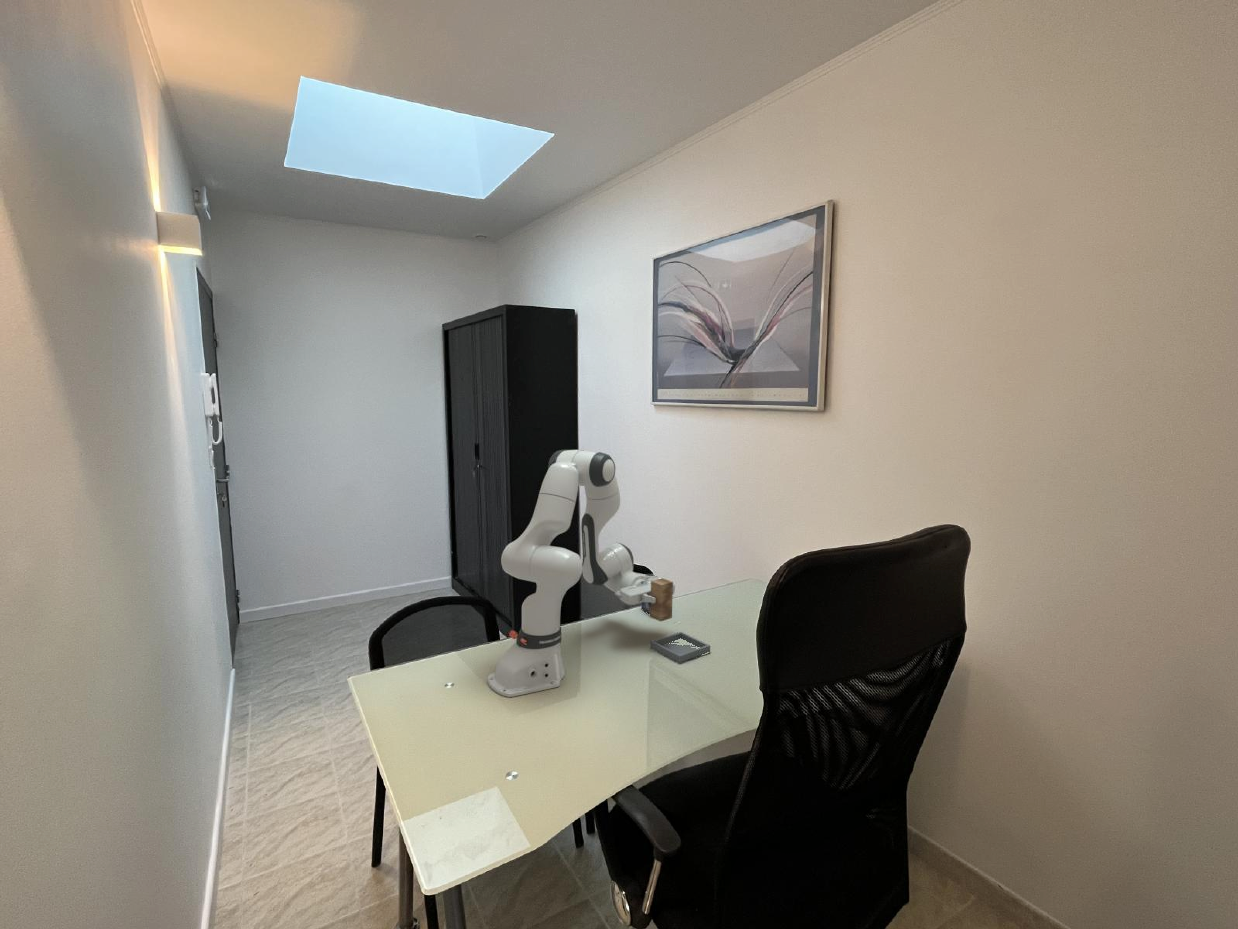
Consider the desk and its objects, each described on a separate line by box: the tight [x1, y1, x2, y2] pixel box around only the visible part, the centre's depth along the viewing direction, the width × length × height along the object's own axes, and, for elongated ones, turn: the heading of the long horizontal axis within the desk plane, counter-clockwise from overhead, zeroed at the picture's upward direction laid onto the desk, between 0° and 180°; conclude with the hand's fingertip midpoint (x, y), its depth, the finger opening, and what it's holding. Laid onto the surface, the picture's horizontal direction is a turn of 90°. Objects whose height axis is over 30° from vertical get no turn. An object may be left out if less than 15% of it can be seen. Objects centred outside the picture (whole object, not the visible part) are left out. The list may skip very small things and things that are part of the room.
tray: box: [650, 631, 711, 665], centre depth 193 cm, size 14×14×2 cm
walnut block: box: [649, 577, 674, 622], centre depth 193 cm, size 5×5×12 cm
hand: (663, 598), depth 192 cm, fingers closed on walnut block, 5 cm apart
